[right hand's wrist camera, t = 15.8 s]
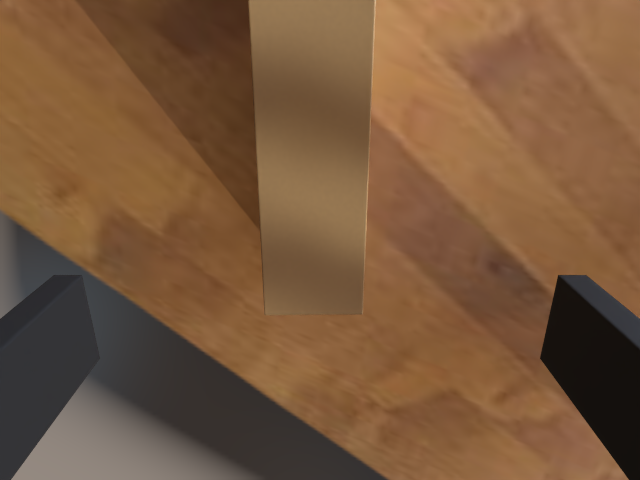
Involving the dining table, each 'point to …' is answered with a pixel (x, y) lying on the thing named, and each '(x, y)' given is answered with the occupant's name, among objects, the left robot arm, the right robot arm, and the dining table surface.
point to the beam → (312, 150)
